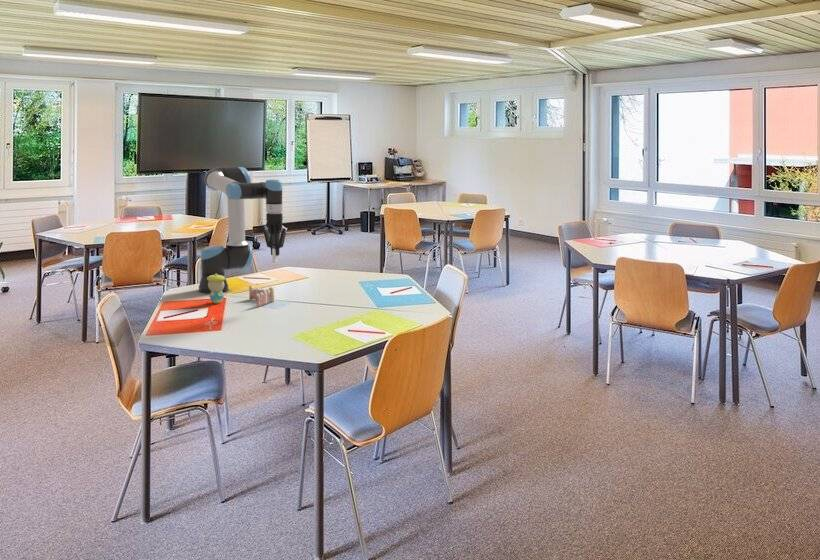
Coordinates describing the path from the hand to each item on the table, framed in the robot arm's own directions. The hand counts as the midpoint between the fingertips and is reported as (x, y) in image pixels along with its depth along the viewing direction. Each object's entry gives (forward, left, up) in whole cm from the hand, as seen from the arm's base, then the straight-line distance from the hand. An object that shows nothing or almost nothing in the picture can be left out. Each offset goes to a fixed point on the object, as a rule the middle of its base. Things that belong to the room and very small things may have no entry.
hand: (275, 261), depth 318 cm
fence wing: (-6, -1, -21) cm, 22 cm away
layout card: (-6, +3, -22) cm, 23 cm away
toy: (-29, -7, -22) cm, 37 cm away
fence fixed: (-12, +6, -22) cm, 26 cm away
